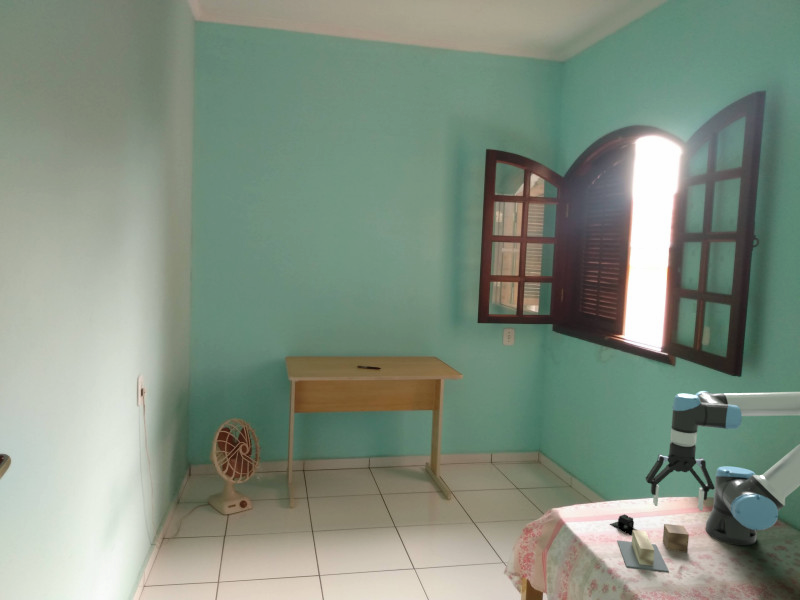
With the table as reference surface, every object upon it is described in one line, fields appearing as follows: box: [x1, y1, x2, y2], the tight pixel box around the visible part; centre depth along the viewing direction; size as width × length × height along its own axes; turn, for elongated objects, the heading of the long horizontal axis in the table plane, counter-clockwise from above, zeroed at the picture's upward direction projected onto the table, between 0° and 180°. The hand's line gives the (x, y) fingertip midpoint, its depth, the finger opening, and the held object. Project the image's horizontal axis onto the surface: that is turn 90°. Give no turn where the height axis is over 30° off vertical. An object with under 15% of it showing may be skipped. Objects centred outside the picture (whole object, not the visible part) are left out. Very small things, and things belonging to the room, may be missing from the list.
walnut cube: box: [662, 523, 690, 553], centre depth 198 cm, size 6×6×6 cm
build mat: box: [617, 539, 670, 573], centre depth 191 cm, size 12×16×1 cm
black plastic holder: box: [609, 513, 637, 537], centre depth 209 cm, size 12×7×5 cm, turn 31°
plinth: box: [631, 529, 654, 566], centre depth 191 cm, size 4×12×5 cm, turn 170°
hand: (677, 506), depth 197 cm, fingers open, 13 cm apart
